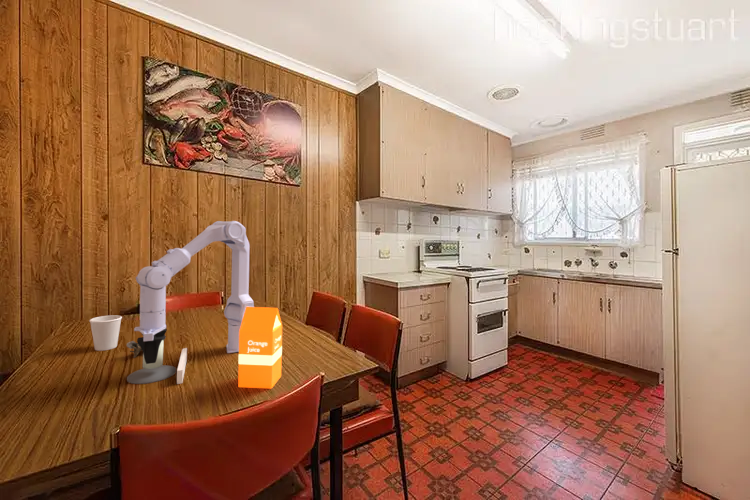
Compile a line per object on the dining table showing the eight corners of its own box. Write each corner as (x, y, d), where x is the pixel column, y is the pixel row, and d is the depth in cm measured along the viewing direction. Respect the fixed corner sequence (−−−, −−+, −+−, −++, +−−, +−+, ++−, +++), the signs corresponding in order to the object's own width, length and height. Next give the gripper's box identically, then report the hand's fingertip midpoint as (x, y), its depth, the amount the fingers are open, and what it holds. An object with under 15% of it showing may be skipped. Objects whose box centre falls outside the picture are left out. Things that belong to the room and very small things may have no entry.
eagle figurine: (150, 355, 96) (171, 341, 105) (135, 337, 95) (158, 324, 104) (133, 366, 97) (155, 351, 106) (118, 348, 96) (142, 334, 105)
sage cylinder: (163, 361, 88) (164, 338, 88) (161, 367, 84) (162, 343, 84) (144, 363, 86) (145, 340, 86) (140, 369, 82) (142, 345, 82)
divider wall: (186, 359, 97) (187, 348, 97) (182, 383, 81) (182, 369, 81) (182, 359, 96) (182, 348, 96) (176, 384, 81) (177, 370, 80)
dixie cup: (126, 342, 110) (126, 314, 110) (115, 350, 102) (115, 320, 102) (97, 344, 108) (97, 315, 107) (83, 353, 100) (83, 322, 99)
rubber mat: (177, 364, 93) (177, 363, 93) (174, 379, 83) (174, 377, 83) (131, 370, 88) (131, 369, 88) (122, 387, 78) (122, 385, 78)
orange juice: (250, 374, 88) (252, 303, 87) (281, 375, 87) (283, 304, 87) (237, 387, 80) (238, 309, 79) (271, 388, 80) (273, 311, 79)
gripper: (140, 306, 90) (139, 352, 90) (128, 317, 77) (128, 372, 77) (169, 304, 93) (168, 349, 93) (162, 315, 80) (162, 367, 80)
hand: (152, 359), depth 85 cm, fingers closed on sage cylinder, 4 cm apart
